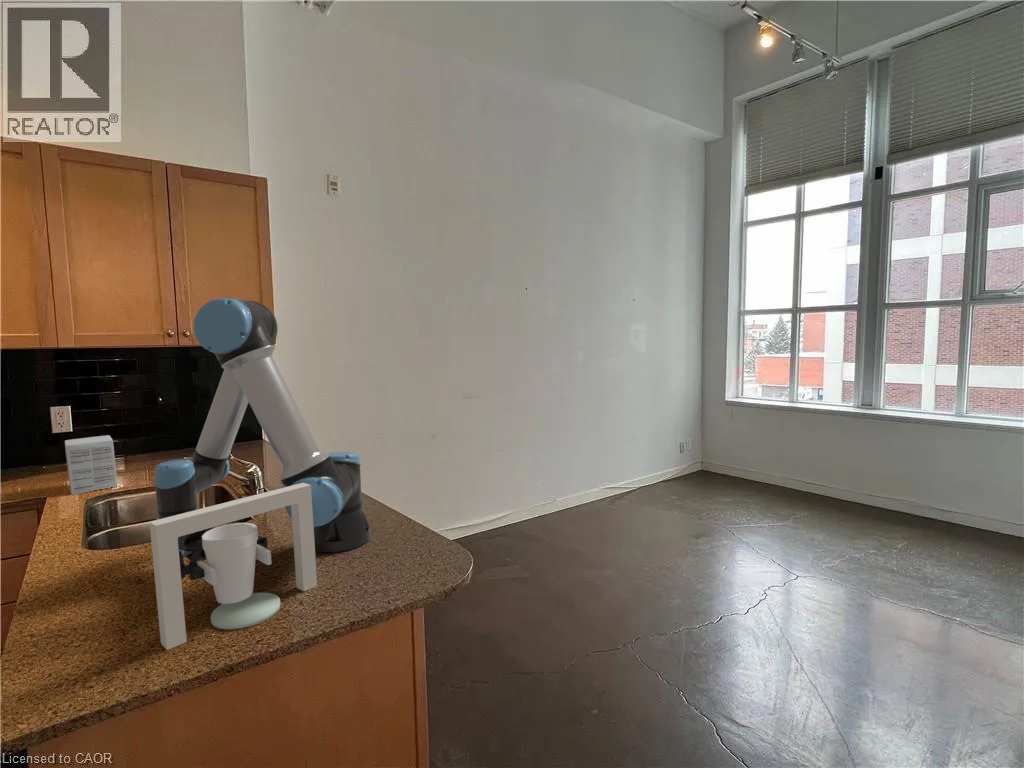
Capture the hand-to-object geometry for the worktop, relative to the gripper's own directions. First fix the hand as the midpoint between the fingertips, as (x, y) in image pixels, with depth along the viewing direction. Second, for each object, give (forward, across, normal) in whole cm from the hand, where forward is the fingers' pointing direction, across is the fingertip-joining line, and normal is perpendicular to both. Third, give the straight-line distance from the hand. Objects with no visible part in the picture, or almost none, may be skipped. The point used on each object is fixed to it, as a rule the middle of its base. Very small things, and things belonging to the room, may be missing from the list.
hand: (242, 567), depth 99 cm
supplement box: (-134, -6, -10) cm, 135 cm away
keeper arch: (-1, -1, -10) cm, 10 cm away
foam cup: (-5, 0, -7) cm, 9 cm away
